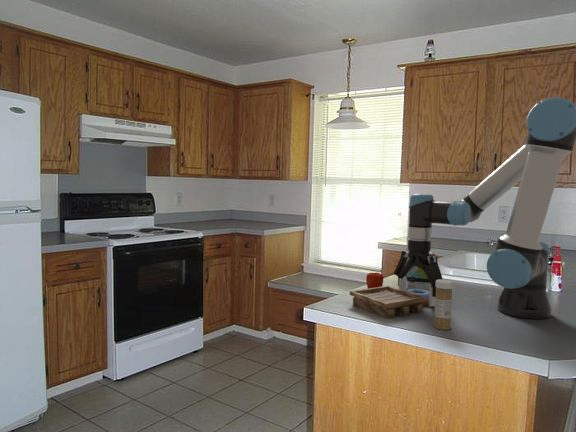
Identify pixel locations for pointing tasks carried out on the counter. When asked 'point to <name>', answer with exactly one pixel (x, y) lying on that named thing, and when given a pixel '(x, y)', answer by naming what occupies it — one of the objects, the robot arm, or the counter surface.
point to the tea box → (418, 277)
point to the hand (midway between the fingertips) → (416, 300)
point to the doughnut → (422, 293)
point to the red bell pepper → (374, 280)
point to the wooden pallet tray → (388, 301)
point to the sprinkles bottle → (443, 304)
